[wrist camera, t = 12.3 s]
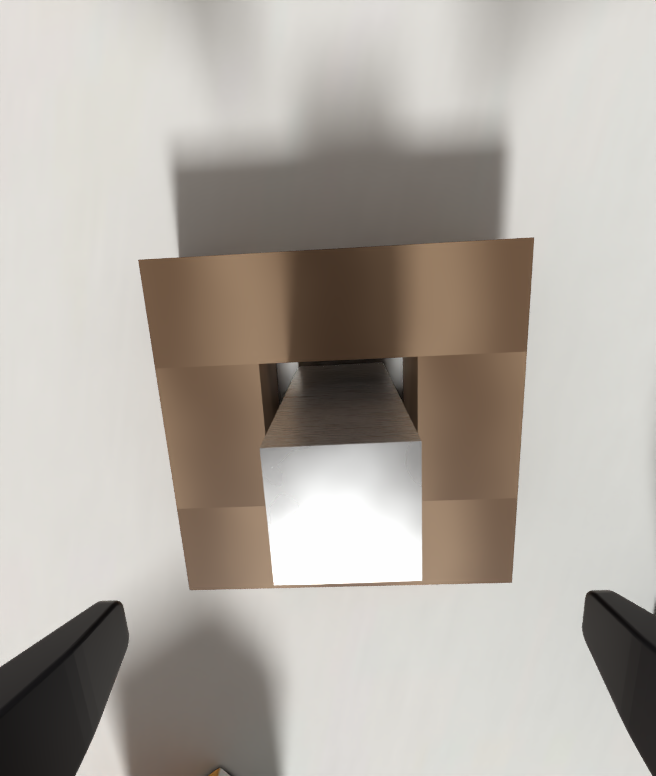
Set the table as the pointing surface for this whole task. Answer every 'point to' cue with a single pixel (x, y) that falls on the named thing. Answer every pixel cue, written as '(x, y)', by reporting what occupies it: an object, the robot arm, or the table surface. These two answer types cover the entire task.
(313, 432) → the grey metal peg
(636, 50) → the table surface
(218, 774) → the small box
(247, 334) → the walnut socket block
